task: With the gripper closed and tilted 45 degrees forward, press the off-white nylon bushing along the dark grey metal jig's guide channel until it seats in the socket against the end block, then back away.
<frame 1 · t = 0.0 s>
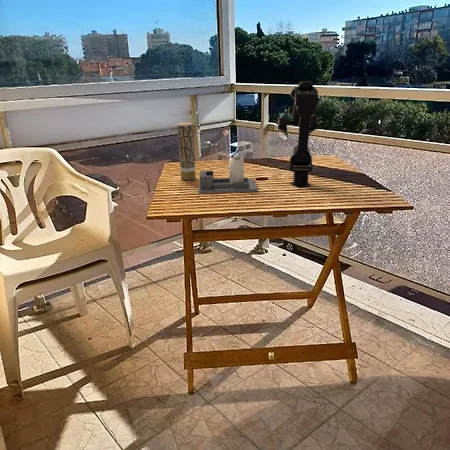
hand: (296, 136, 194), 15 cm above the table, tool tilted 35°, fingers open, 9 cm apart
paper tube: (188, 179, 184), on the table
bushing: (236, 171, 168), point 7 cm above the table, slide at 0.0 cm
jig: (227, 186, 171), on the table
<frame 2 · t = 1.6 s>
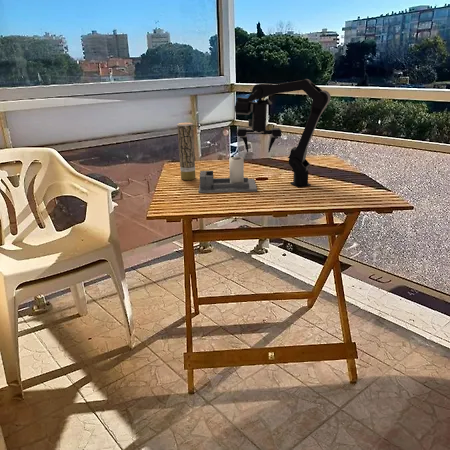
hand: (258, 152, 173), 13 cm above the table, tool pointing down, fingers open, 9 cm apart
nothing on the table moved.
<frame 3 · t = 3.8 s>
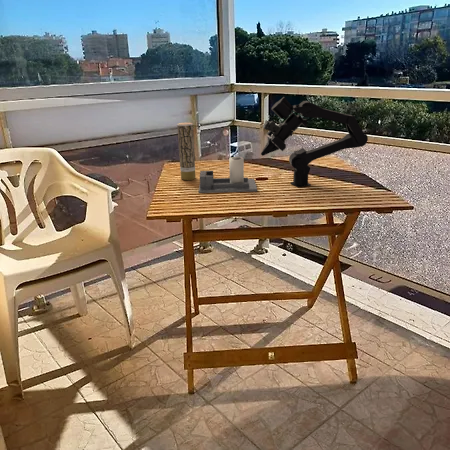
hand: (261, 154, 166), 13 cm above the table, tool tilted 45°, fingers closed
nothing on the table moved.
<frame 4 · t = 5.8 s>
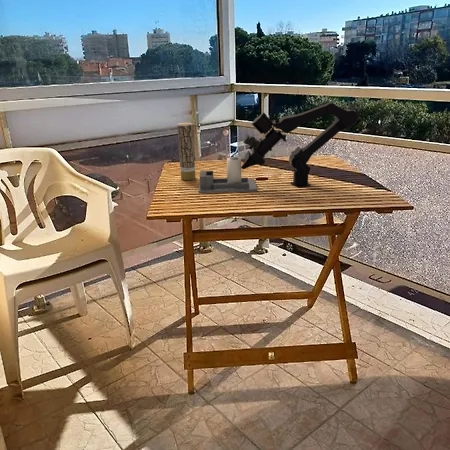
hand: (241, 168, 168), 8 cm above the table, tool tilted 45°, fingers closed, pressing on bushing
bushing: (234, 171, 168), point 7 cm above the table, slide at 1.0 cm, touching gripper
everything else where it was.
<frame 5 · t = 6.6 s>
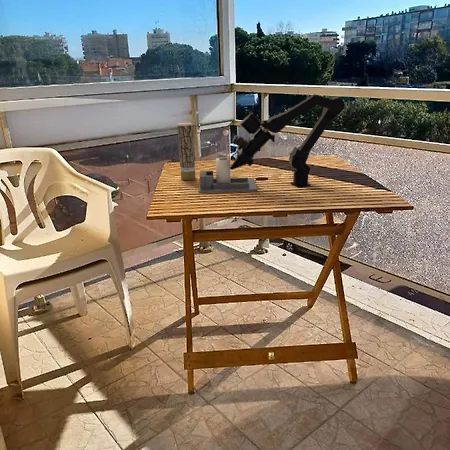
hand: (230, 168, 168), 8 cm above the table, tool tilted 45°, fingers closed, pressing on bushing
bushing: (223, 171, 168), point 7 cm above the table, slide at 5.7 cm, touching gripper
everything else where it was.
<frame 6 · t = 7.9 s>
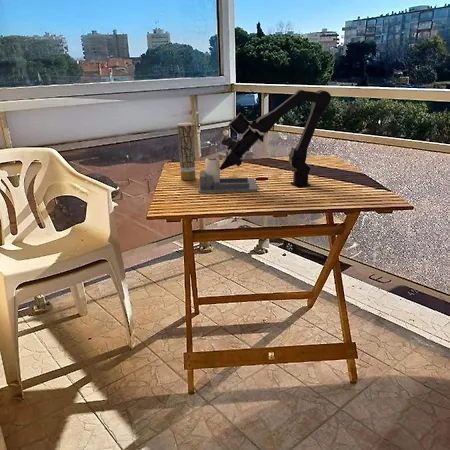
hand: (220, 169, 168), 8 cm above the table, tool tilted 45°, fingers closed, pressing on bushing
bushing: (212, 171, 168), point 7 cm above the table, slide at 10.1 cm, touching gripper, jig
everything else where it was.
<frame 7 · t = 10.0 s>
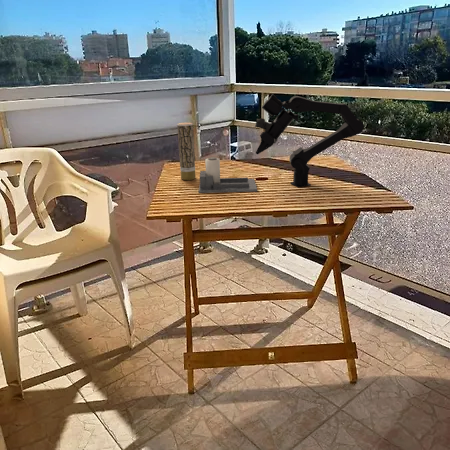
hand: (256, 153, 167), 14 cm above the table, tool tilted 40°, fingers closed
bushing: (212, 171, 168), point 7 cm above the table, slide at 10.0 cm
everything else where it was.
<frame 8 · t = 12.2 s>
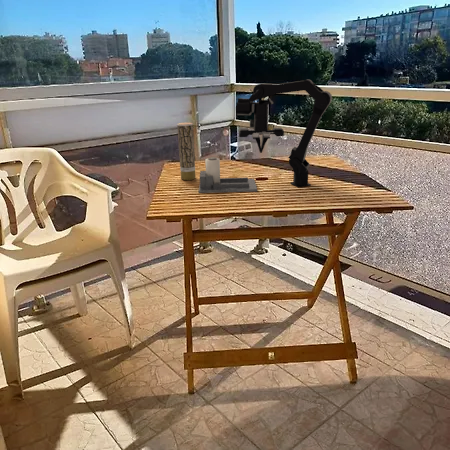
hand: (260, 152, 171), 13 cm above the table, tool pointing down, fingers closed
nothing on the table moved.
at the end: bushing slide at 10.0 cm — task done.
